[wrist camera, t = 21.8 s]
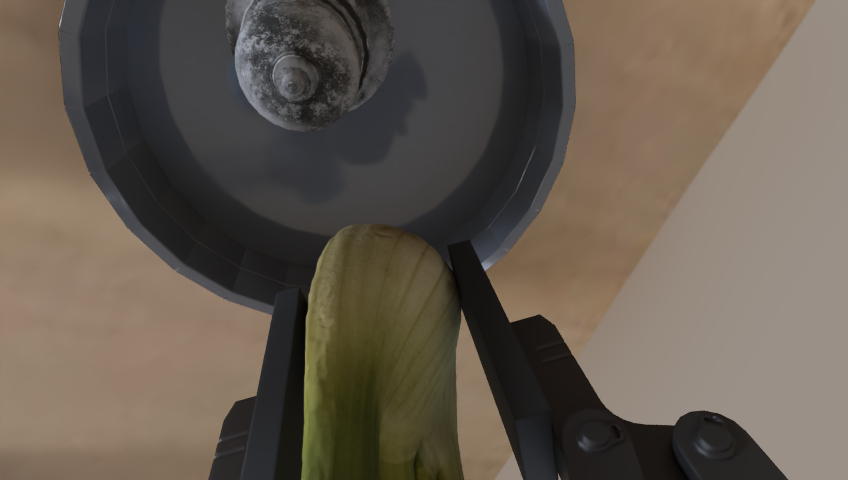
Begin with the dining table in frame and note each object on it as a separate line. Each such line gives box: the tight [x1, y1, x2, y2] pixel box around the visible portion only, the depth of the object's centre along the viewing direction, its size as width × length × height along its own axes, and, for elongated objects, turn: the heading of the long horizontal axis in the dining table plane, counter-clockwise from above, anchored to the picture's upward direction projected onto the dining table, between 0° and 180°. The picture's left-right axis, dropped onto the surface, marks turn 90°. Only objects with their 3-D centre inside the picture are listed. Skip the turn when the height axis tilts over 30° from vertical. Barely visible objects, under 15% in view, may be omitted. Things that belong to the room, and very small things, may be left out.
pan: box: [58, 0, 576, 315], centre depth 19 cm, size 19×19×4 cm
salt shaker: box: [225, 0, 395, 132], centre depth 14 cm, size 6×6×12 cm
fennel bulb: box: [301, 224, 464, 480], centre depth 11 cm, size 6×5×12 cm
